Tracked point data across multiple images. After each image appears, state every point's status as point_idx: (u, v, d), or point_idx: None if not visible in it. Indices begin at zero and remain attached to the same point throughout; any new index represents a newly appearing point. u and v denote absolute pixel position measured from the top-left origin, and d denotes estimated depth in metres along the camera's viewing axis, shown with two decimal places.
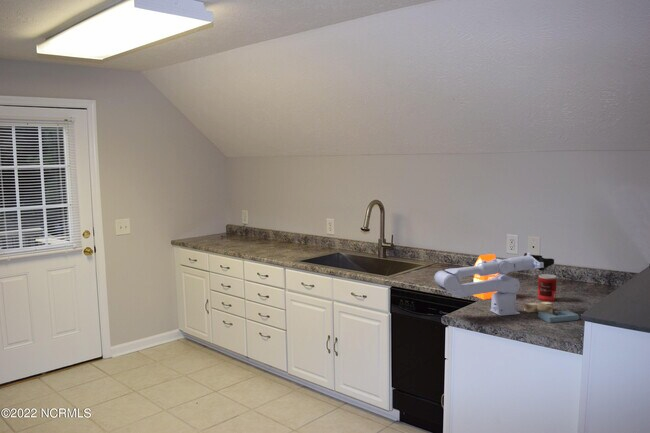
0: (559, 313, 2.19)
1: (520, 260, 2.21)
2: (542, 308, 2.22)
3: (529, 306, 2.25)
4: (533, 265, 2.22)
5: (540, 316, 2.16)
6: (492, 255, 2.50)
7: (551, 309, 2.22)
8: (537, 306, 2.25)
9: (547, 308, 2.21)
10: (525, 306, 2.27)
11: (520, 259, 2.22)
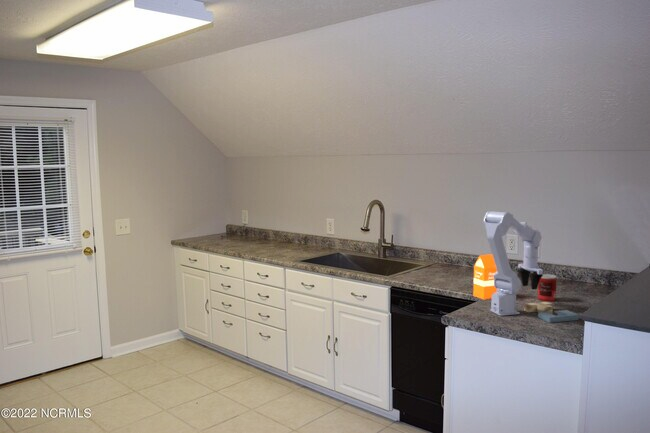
0: (559, 313, 2.19)
1: (537, 254, 2.31)
2: (542, 308, 2.22)
3: (529, 306, 2.25)
4: (532, 268, 2.29)
5: (540, 316, 2.16)
6: (492, 255, 2.50)
7: (551, 309, 2.22)
8: (537, 306, 2.25)
9: (547, 308, 2.21)
10: (525, 306, 2.27)
11: None
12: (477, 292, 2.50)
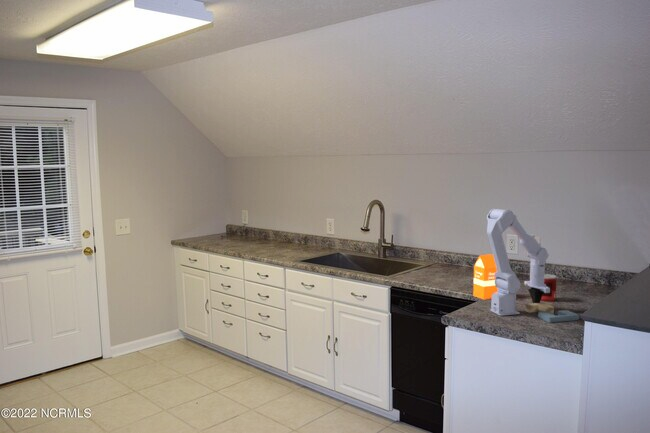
0: (559, 313, 2.19)
1: (544, 272, 2.26)
2: (543, 309, 2.21)
3: (530, 306, 2.24)
4: (539, 286, 2.25)
5: (540, 316, 2.16)
6: (492, 255, 2.50)
7: (552, 310, 2.21)
8: (538, 306, 2.24)
9: (548, 309, 2.20)
10: (526, 306, 2.26)
11: (544, 273, 2.27)
12: (477, 292, 2.50)
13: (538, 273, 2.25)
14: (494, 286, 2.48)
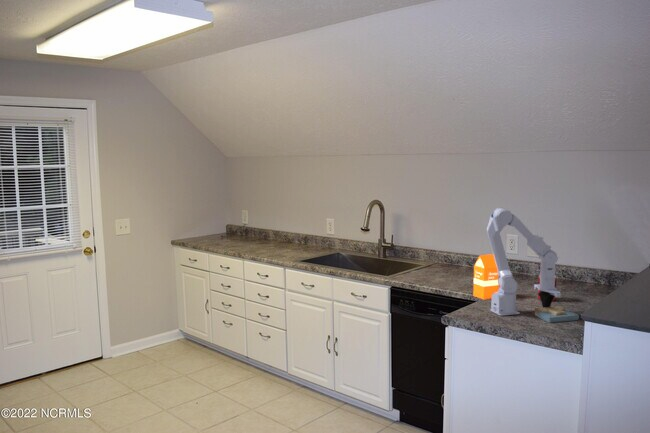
0: None
1: (553, 276, 2.19)
2: (554, 313, 2.15)
3: (540, 311, 2.17)
4: (550, 290, 2.19)
5: (540, 316, 2.16)
6: (492, 255, 2.50)
7: (563, 314, 2.14)
8: (549, 311, 2.18)
9: (559, 313, 2.14)
10: (536, 311, 2.19)
11: (554, 277, 2.19)
12: (477, 292, 2.50)
13: (545, 276, 2.19)
14: (494, 286, 2.48)
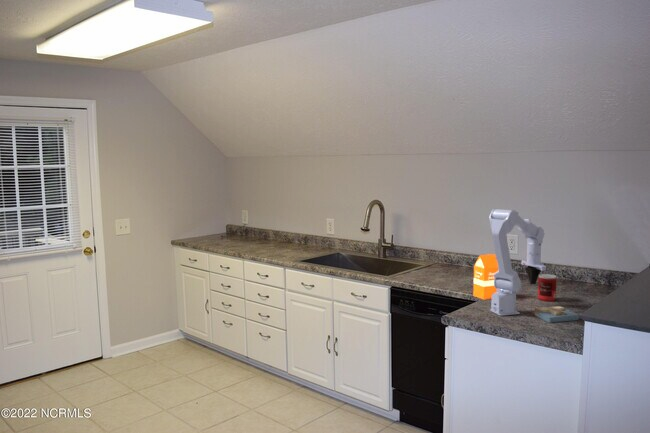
0: None
1: None
2: (554, 313, 2.15)
3: (540, 311, 2.17)
4: (536, 264, 2.32)
5: (540, 316, 2.16)
6: (492, 255, 2.50)
7: (563, 314, 2.14)
8: (548, 311, 2.18)
9: (559, 313, 2.14)
10: (536, 311, 2.19)
11: None
12: (477, 292, 2.50)
13: (537, 252, 2.31)
14: (494, 286, 2.48)
